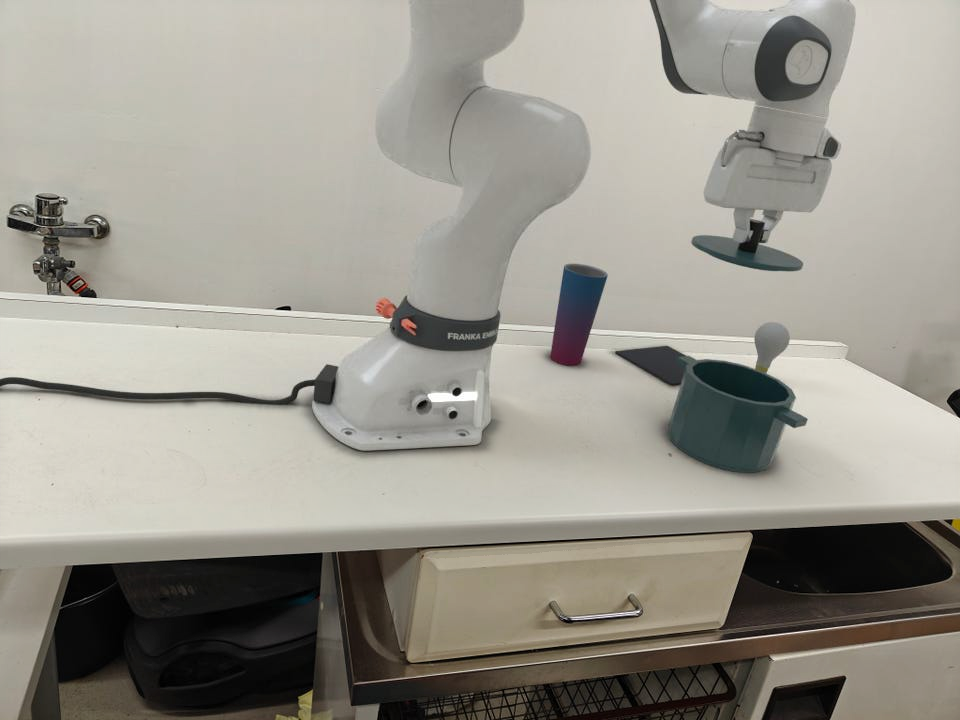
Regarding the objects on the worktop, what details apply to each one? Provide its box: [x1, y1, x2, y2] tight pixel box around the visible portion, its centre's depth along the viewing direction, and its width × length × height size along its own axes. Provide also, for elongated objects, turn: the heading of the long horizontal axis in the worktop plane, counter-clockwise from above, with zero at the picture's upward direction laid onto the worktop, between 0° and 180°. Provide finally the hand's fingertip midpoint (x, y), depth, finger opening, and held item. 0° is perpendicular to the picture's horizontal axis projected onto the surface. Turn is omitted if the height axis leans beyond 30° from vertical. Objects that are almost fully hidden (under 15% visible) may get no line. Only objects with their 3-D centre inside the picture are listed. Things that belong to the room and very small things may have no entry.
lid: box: [691, 218, 804, 272], centre depth 96 cm, size 15×15×5 cm
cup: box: [549, 263, 609, 367], centre depth 113 cm, size 7×7×15 cm
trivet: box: [614, 345, 687, 387], centre depth 121 cm, size 13×13×1 cm
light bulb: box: [753, 321, 791, 374], centre depth 121 cm, size 6×6×10 cm
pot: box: [667, 355, 809, 474], centre depth 94 cm, size 14×19×10 cm
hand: (749, 242), depth 97 cm, fingers closed on lid, 2 cm apart
